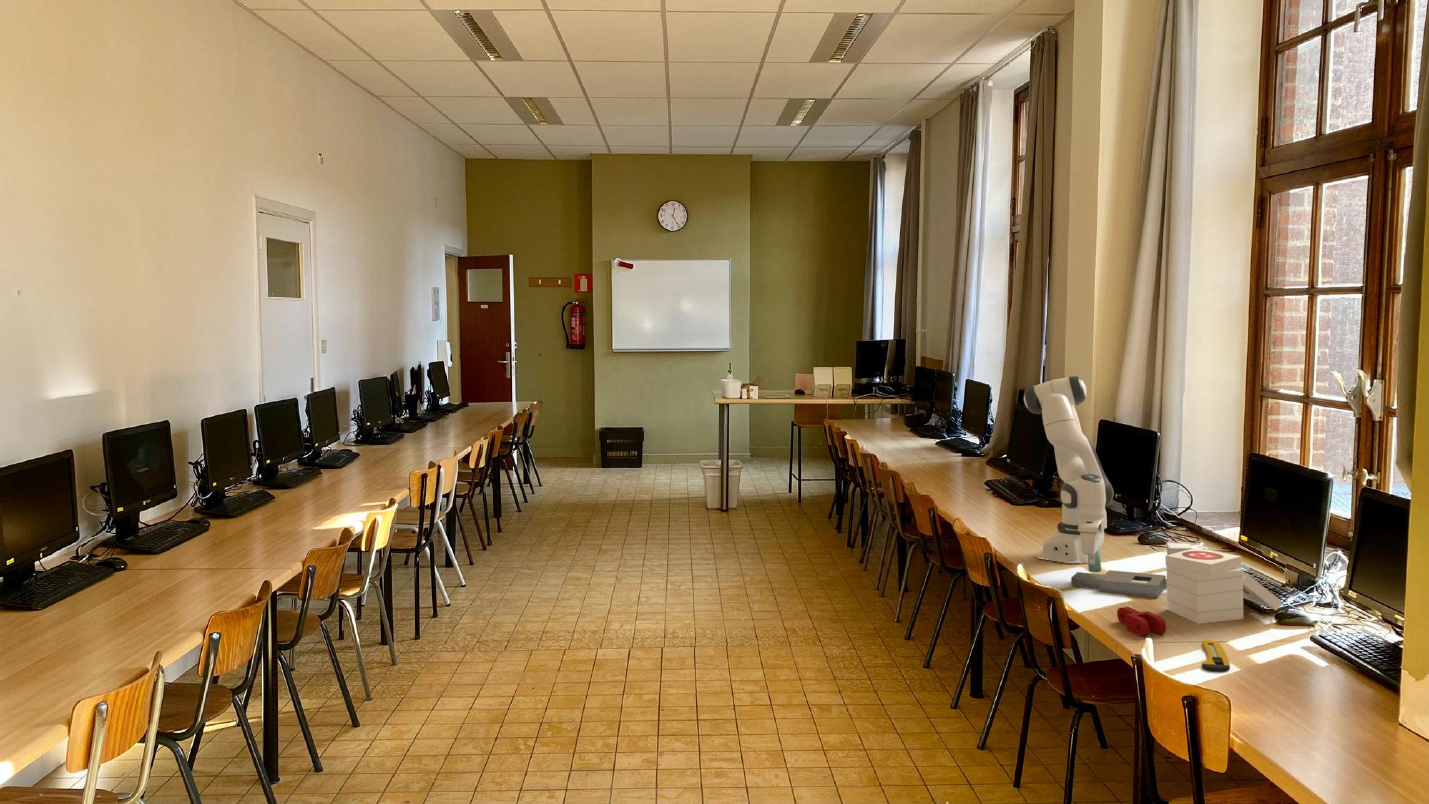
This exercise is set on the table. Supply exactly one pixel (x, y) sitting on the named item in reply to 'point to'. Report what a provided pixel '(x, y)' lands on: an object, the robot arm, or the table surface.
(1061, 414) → the robot arm
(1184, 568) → the white stacked boxes
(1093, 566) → the peg
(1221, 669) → the utility knife
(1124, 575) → the plate
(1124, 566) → the table surface
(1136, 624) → the mechanical linkage
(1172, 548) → the supplement box
